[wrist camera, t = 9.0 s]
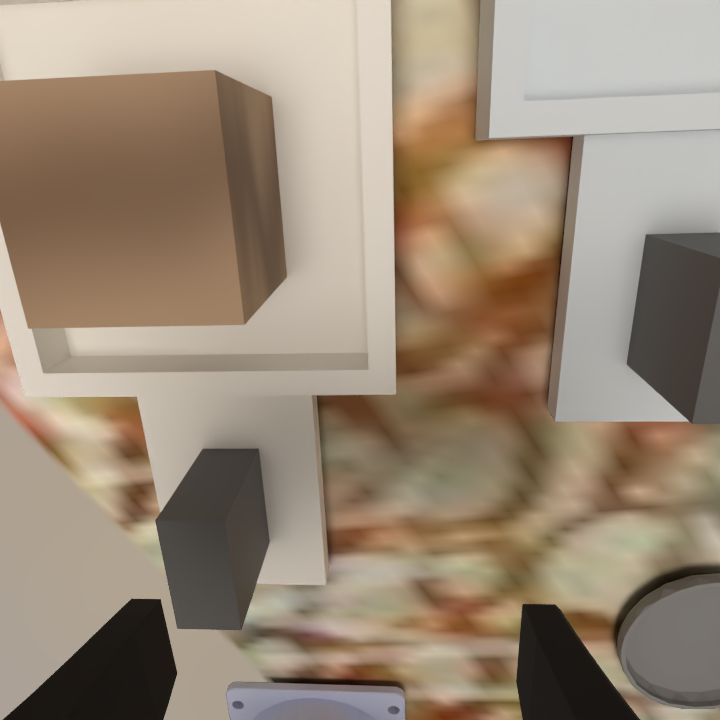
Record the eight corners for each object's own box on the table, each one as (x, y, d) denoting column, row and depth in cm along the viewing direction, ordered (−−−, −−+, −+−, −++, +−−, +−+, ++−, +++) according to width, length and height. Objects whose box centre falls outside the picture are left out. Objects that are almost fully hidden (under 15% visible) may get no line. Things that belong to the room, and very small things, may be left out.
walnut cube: (287, 277, 17) (244, 325, 12) (129, 280, 17) (28, 328, 12) (271, 96, 15) (215, 69, 10) (96, 105, 15) (-37, 82, 10)
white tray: (398, 567, 22) (399, 682, 17) (117, 563, 22) (44, 671, 18) (390, -43, 14) (387, -139, 10) (-24, -17, 15) (-210, -93, 10)
